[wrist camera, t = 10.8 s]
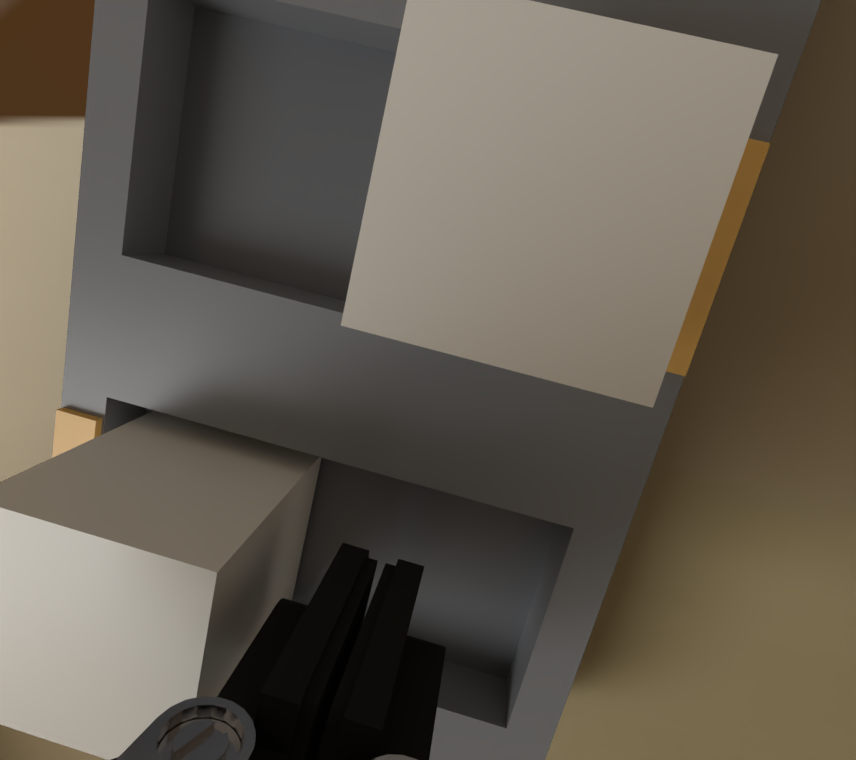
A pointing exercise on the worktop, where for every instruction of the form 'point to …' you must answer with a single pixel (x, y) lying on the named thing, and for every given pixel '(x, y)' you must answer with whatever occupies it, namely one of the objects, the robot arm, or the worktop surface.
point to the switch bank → (357, 350)
